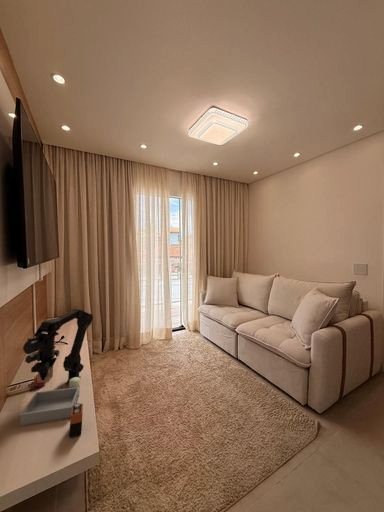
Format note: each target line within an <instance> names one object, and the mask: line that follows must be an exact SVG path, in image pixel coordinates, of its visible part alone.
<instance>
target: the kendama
mask: <svg viewBox="0 0 384 512" xmlns="http://www.w3.org/2000/svg"><path fill="white" fill-rule="evenodd" d="M37 377H38V373H36V374H34V375H33V383H35V384H34V385H35V386H36V385H37V386H36V387H38V386H39V387H43V386H44V385H45V384H47V382H40V383H37ZM39 387H38V388H39Z"/></svg>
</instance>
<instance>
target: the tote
mask: <svg viewBox="0 0 384 512" xmlns="http://www.w3.org/2000/svg"><path fill="white" fill-rule="evenodd" d="M80 387H81V386H80ZM80 387H76V388H69V387H68V388H62V389H60V388H59V389H54V390H52V389H51V390H42V391H36V392H35V393H34V395H33V396H32V397H31V399H30V401H29V402H28V403H27V405H26V406H25V408H24V409H23V411H22V412H21V413H20V418H19V427H25V426H32V425H38V424H42V423H49V422H50V423H51V422H57V421H63V420H64V421H65V420H70V416H71V409H72V406H73V405H75V404H76V403H78V401H79V397H80Z"/></svg>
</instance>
